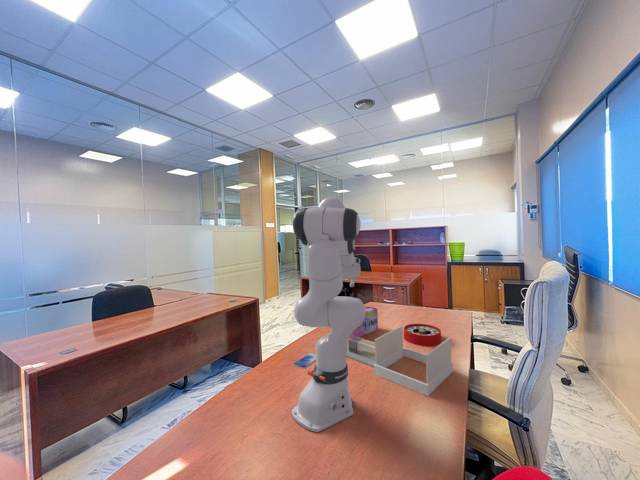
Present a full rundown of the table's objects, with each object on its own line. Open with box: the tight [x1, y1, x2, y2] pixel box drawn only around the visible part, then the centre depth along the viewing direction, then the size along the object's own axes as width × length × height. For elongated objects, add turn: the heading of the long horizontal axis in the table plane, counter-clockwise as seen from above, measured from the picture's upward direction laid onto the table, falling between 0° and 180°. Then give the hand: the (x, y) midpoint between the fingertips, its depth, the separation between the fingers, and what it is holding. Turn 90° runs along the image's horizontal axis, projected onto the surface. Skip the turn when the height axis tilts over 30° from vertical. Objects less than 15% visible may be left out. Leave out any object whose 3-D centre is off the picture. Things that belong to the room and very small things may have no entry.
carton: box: [373, 325, 454, 397], centre depth 116 cm, size 25×24×15 cm
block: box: [348, 336, 375, 360], centre depth 134 cm, size 6×18×6 cm, turn 44°
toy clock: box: [403, 323, 442, 347], centre depth 153 cm, size 20×6×20 cm
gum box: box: [349, 306, 379, 339], centre depth 166 cm, size 24×8×14 cm, turn 131°
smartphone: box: [292, 352, 316, 369], centre depth 131 cm, size 7×1×15 cm
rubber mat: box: [346, 347, 375, 368], centre depth 134 cm, size 16×24×1 cm, turn 44°
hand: (345, 288), depth 133 cm, fingers open, 8 cm apart
